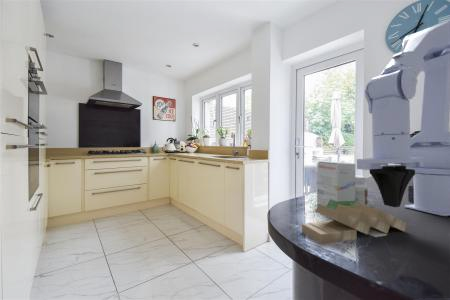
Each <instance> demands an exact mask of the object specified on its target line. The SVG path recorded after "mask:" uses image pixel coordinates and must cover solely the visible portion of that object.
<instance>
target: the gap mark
mask: <svg viewBox="0 0 450 300" xmlns="http://www.w3.org/2000/svg"><path fill="white" fill-rule="evenodd" d="M368 235H369V236H371V237H374V238H378V237H379V238H380V237H385V236H387V234H386V233H384V232H381V231H378V230H376V229H373V228H371V227H370V229H369V232H368Z"/></svg>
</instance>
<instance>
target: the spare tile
mask: <svg viewBox="0 0 450 300" xmlns="http://www.w3.org/2000/svg"><path fill="white" fill-rule="evenodd" d="M315 213H317V214H318V215H319V214H320V215H322V216H324V217H326V218H329V220H335V221H337V222H339V223H342V224H344V225H347V226H349V227H351V228H354V229H356V230H357V232H360V233H363V234H365V235H369V234H368V232H369V229H370V228H371V227H370V225H368V224H366V223H364V222H361V221H359V220H357V219H355V218H353V217H351V216H349V215H347V214H345V213H343V212H341V211H338V210H335V209H332V208H329V207H327V206H324V205H321V204H317V207H316V210H315Z"/></svg>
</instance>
